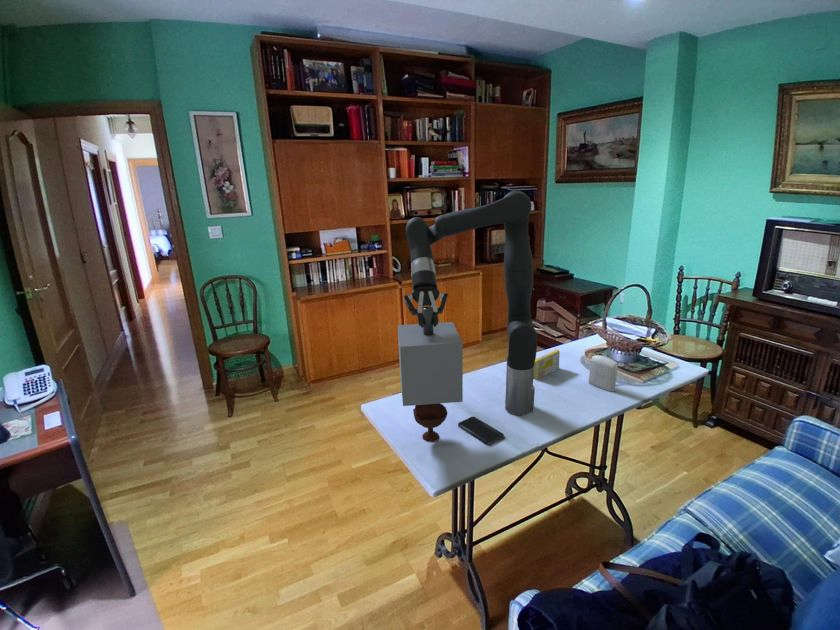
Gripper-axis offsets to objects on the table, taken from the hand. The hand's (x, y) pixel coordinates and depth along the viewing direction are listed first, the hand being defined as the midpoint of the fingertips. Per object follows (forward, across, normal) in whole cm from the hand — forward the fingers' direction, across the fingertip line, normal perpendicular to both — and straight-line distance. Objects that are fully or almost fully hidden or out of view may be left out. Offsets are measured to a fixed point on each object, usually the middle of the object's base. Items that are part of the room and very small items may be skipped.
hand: (428, 325), depth 127 cm
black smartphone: (+26, +16, +30) cm, 43 cm away
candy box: (-1, +53, +57) cm, 77 cm away
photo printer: (+9, +70, +47) cm, 85 cm away
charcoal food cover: (+14, 0, +17) cm, 22 cm away
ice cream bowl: (+27, 0, +29) cm, 39 cm away
